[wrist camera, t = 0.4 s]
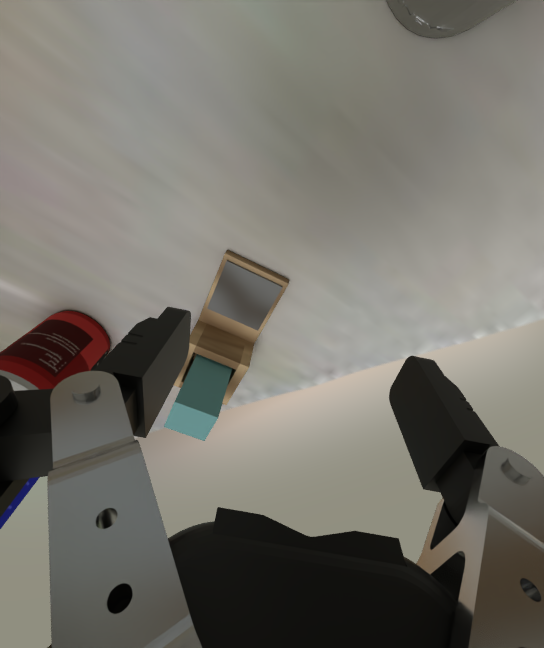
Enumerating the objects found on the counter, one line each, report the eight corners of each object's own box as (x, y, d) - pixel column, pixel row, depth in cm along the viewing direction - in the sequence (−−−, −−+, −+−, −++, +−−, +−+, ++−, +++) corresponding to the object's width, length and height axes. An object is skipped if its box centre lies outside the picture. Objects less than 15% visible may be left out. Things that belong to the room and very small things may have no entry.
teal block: (206, 333, 33) (174, 401, 25) (238, 347, 34) (218, 417, 25) (196, 357, 35) (163, 426, 27) (226, 369, 36) (204, 440, 27)
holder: (227, 249, 28) (214, 270, 24) (288, 279, 29) (286, 303, 25) (183, 358, 37) (168, 387, 33) (232, 377, 38) (224, 408, 34)
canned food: (73, 362, 39) (3, 433, 30) (36, 312, 35) (-59, 377, 25) (123, 357, 38) (66, 429, 28) (91, 304, 33) (12, 369, 24)
